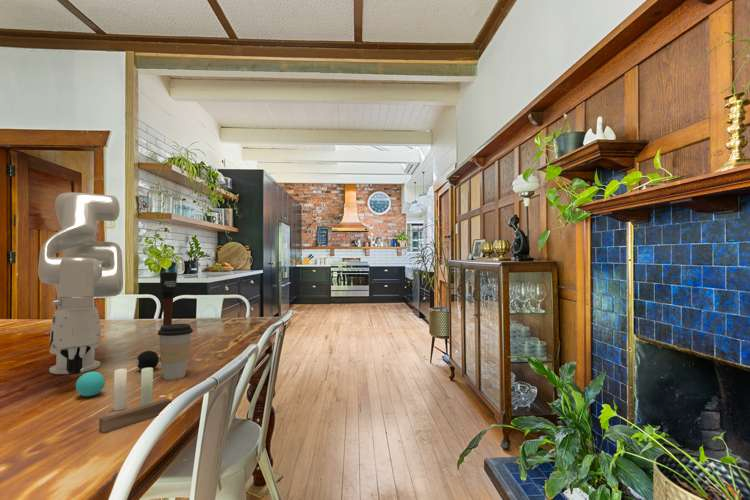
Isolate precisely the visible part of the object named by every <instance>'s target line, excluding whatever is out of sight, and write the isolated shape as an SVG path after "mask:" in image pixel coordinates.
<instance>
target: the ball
mask: <svg viewBox="0 0 750 500" xmlns="http://www.w3.org/2000/svg"><path fill="white" fill-rule="evenodd" d="M105 382H106V379H105V377H104V375H103V374H102V373H100V372H98V371H86V373H83V374H82V375H80V376H79V377H78V378H77V380H76V383H75V390H76V393H78V394H79V395H81V396H82V397H93V396H95V395H98V394H99V393H101V391H102V390H103V389H104V387H105Z"/></svg>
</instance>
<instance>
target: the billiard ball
mask: <svg viewBox="0 0 750 500" xmlns="http://www.w3.org/2000/svg"><path fill="white" fill-rule="evenodd" d="M159 357H160V356H159V355H158V354H157V352H155V351H152V350H144V351H143V352H141V353H140V354H139V355H138V356H137V358H136V360H135V361H136V366H137V368H138V369H139V370H140V371H141V369H143V368H149V367H151V368H153V370H154V369H155V368H156V367H157V366H158V365H159V361H160V359H159Z"/></svg>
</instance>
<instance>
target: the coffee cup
mask: <svg viewBox="0 0 750 500" xmlns="http://www.w3.org/2000/svg"><path fill="white" fill-rule="evenodd" d="M157 332H158V333H157V335H159V353H160V356H159V357H160V362H161V370H162V379H163V380H169V381H171V380H172V381H173V380H179V379H182V378H184V377H185V376H186V372H187V363H188V361H189V355H190V347H191V335H192V333H194V330H193V328H192V327H191V324H189V323H172V324H169V325H164V326H163V325H162V326H160V329H159V330H158V331H157Z"/></svg>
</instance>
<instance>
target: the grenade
mask: <svg viewBox="0 0 750 500" xmlns="http://www.w3.org/2000/svg"><path fill="white" fill-rule="evenodd" d="M159 275H160V276H159V278H160V279H159V290H158V292H159V293H161V295H162V296H161V297H162V313H163V317H162V319H163V320H162V326H164V325H169V324H173V322H172V321H173V320H172V318H173V317H172V316H173V309H174V298H175V297H174V296H175V292H178V289H177V288H178V285H177V284H178V282H177V281H178V273H177V272H175V271H163V272H160V274H159Z"/></svg>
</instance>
